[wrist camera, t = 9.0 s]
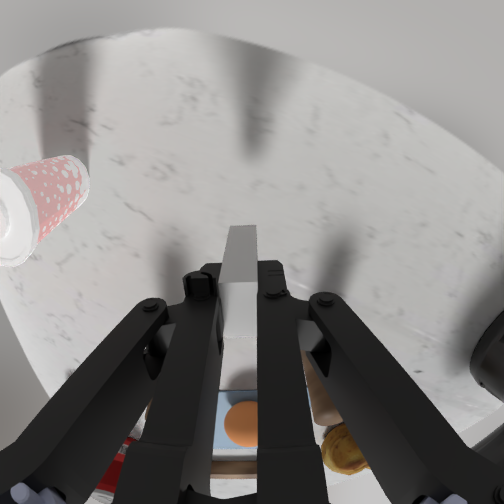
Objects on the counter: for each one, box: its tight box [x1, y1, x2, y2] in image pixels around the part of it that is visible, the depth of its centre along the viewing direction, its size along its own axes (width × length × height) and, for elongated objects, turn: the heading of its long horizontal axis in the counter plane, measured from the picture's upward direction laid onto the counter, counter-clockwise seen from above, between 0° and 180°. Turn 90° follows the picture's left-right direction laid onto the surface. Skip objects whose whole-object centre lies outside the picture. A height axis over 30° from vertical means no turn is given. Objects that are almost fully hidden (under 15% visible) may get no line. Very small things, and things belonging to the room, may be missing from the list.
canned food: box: [91, 437, 137, 504], centre depth 33 cm, size 8×8×11 cm
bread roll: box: [321, 423, 371, 475], centre depth 33 cm, size 13×10×8 cm
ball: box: [224, 401, 258, 447], centre depth 30 cm, size 6×6×6 cm
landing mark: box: [213, 387, 311, 449], centre depth 34 cm, size 14×14×1 cm
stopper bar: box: [210, 461, 257, 479], centre depth 39 cm, size 16×2×2 cm, turn 92°
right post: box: [300, 350, 343, 426], centre depth 24 cm, size 3×3×9 cm
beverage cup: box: [0, 155, 90, 268], centre depth 15 cm, size 6×6×14 cm
